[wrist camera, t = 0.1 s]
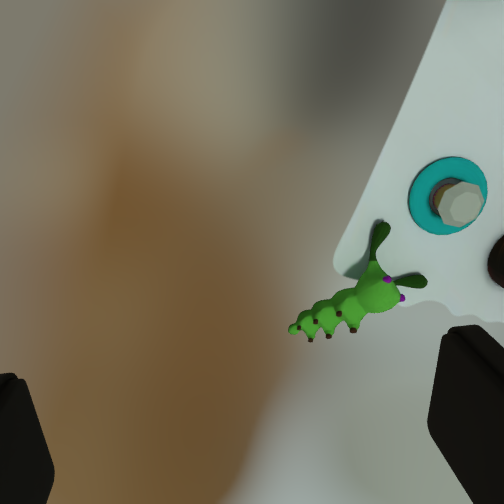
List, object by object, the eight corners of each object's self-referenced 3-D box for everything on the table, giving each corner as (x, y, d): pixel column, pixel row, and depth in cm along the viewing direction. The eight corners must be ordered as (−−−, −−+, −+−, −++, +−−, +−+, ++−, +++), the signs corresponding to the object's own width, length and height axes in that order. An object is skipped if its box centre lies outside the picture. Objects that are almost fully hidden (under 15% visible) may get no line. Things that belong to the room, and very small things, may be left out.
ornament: (525, 198, 50) (464, 261, 53) (501, 188, 54) (445, 247, 57) (468, 145, 46) (406, 215, 49) (447, 139, 50) (391, 204, 53)
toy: (384, 270, 45) (386, 217, 53) (260, 313, 56) (276, 263, 63) (433, 337, 50) (429, 279, 57) (310, 365, 60) (320, 313, 68)
